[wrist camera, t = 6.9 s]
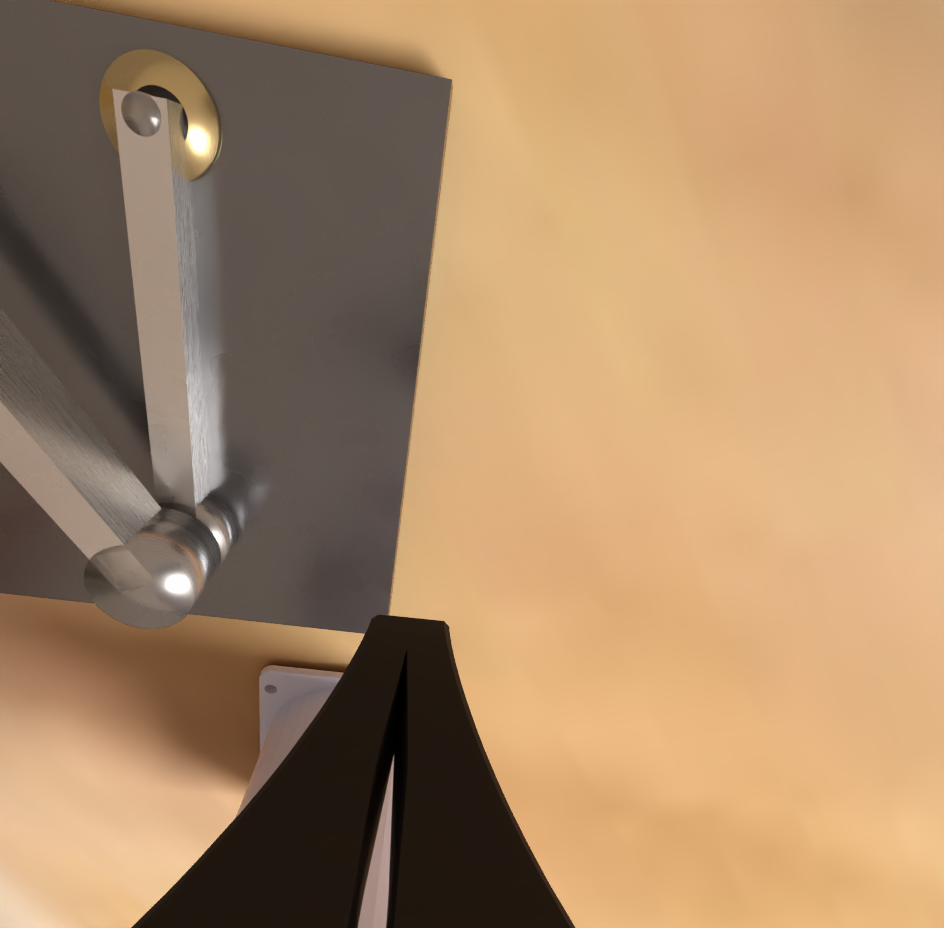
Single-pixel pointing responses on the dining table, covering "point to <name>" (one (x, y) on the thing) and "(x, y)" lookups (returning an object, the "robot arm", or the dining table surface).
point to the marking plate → (223, 293)
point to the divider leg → (98, 497)
